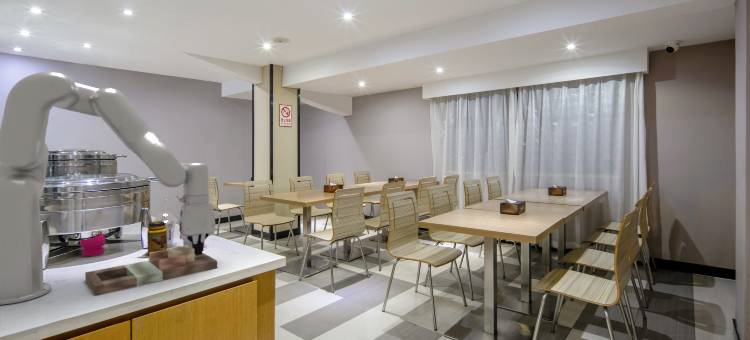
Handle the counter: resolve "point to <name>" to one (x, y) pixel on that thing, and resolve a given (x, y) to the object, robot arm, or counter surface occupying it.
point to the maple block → (182, 252)
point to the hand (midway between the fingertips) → (197, 254)
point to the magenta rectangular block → (93, 245)
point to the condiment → (156, 237)
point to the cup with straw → (168, 222)
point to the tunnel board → (146, 272)
